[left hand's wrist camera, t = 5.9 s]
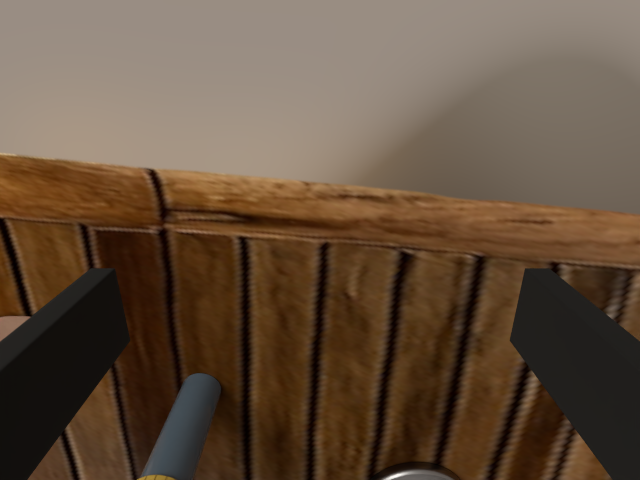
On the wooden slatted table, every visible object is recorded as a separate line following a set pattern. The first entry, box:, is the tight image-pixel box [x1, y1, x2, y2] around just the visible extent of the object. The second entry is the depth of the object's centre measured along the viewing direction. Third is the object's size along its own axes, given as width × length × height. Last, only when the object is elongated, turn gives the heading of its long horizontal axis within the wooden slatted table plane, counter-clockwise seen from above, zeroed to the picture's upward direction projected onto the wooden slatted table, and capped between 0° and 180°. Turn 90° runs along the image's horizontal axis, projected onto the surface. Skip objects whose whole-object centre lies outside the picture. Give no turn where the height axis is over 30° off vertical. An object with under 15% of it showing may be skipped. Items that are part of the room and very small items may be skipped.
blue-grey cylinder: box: [140, 373, 221, 480], centre depth 42 cm, size 5×5×16 cm
